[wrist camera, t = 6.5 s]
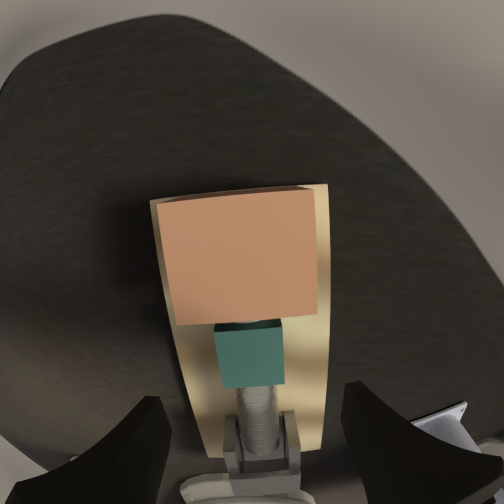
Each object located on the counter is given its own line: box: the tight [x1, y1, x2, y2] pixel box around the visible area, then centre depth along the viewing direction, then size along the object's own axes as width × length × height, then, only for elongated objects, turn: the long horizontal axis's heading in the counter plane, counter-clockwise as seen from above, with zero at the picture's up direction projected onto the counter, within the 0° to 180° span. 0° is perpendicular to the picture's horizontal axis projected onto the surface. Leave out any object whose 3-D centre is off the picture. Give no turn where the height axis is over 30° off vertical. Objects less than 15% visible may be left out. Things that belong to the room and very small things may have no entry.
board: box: [150, 184, 330, 458], centre depth 19 cm, size 22×10×1 cm, turn 5°
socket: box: [157, 186, 318, 325], centre depth 14 cm, size 6×6×4 cm
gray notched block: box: [223, 410, 301, 496], centre depth 18 cm, size 6×5×4 cm
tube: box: [213, 318, 285, 456], centre depth 16 cm, size 15×3×4 cm, turn 5°
